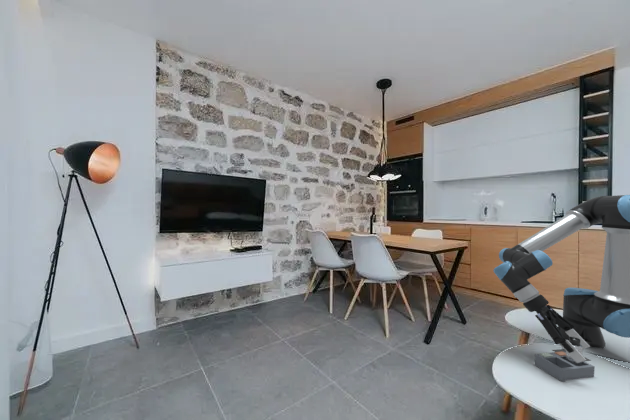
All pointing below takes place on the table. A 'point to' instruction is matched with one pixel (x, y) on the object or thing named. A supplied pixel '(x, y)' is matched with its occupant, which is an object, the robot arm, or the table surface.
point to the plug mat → (565, 351)
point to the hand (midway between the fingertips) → (583, 354)
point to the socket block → (562, 366)
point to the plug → (576, 344)
